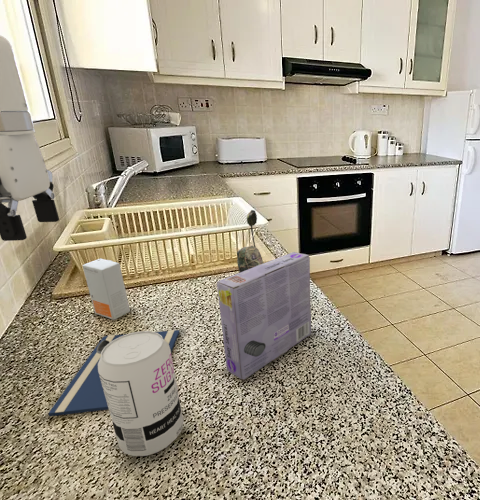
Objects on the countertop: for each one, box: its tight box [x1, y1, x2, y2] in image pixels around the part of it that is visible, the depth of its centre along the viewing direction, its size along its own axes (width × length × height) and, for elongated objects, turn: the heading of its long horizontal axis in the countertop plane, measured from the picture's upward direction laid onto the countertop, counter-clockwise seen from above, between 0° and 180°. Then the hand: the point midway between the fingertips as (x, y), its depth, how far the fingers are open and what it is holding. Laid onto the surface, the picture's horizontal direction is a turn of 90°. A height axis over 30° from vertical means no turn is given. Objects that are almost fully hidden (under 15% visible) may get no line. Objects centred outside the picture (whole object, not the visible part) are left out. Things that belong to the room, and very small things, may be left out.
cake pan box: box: [216, 251, 312, 382], centre depth 68 cm, size 19×5×18 cm, turn 145°
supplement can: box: [98, 330, 184, 457], centre depth 50 cm, size 8×8×15 cm
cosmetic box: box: [82, 258, 131, 321], centre depth 80 cm, size 6×4×12 cm
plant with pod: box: [236, 209, 264, 273], centre depth 91 cm, size 8×11×20 cm
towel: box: [47, 329, 180, 417], centre depth 66 cm, size 14×20×1 cm
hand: (33, 230), depth 63 cm, fingers open, 9 cm apart
